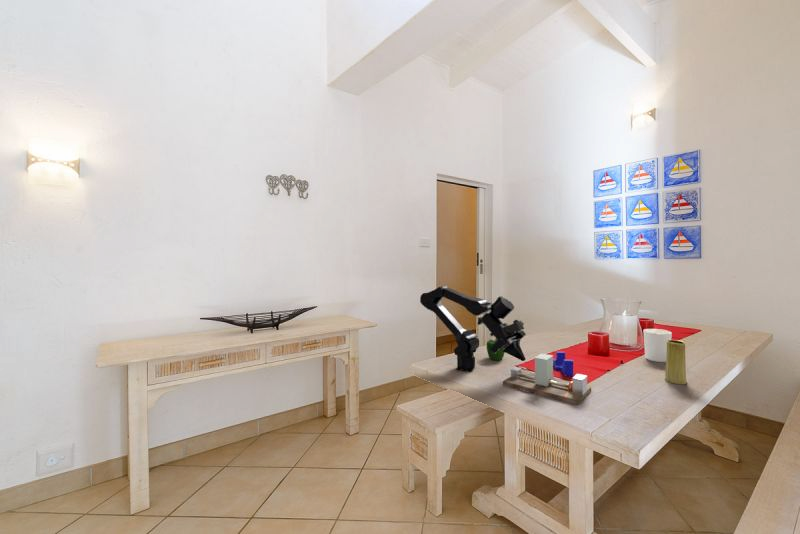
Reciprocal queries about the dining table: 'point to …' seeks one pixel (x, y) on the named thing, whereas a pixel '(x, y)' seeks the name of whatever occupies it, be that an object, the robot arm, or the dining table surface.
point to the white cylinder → (656, 344)
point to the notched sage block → (543, 369)
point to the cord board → (546, 389)
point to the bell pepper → (498, 355)
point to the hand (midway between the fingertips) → (524, 360)
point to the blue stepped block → (563, 364)
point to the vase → (675, 362)
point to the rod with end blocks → (575, 385)
